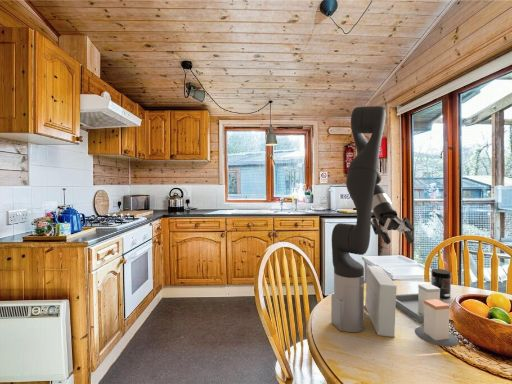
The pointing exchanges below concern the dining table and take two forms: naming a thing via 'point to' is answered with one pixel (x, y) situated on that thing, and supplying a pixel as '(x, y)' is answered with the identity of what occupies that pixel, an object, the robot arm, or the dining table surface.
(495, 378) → the dining table surface
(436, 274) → the supplement container
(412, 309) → the parts tray
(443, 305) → the rust lid box
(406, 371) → the dining table surface
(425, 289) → the white lid box
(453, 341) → the slate mat
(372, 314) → the skincare box
